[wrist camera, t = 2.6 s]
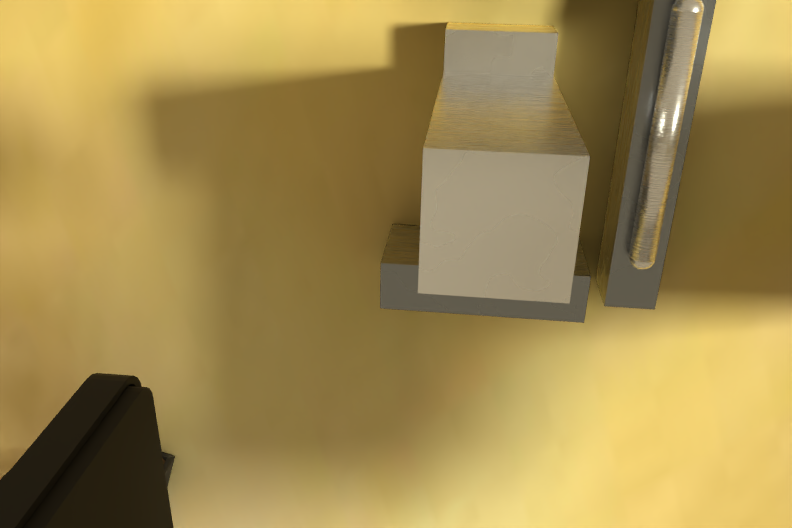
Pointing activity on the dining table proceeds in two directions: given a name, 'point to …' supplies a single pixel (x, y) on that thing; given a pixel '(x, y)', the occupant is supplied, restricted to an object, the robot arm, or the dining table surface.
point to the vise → (629, 189)
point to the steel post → (501, 170)
